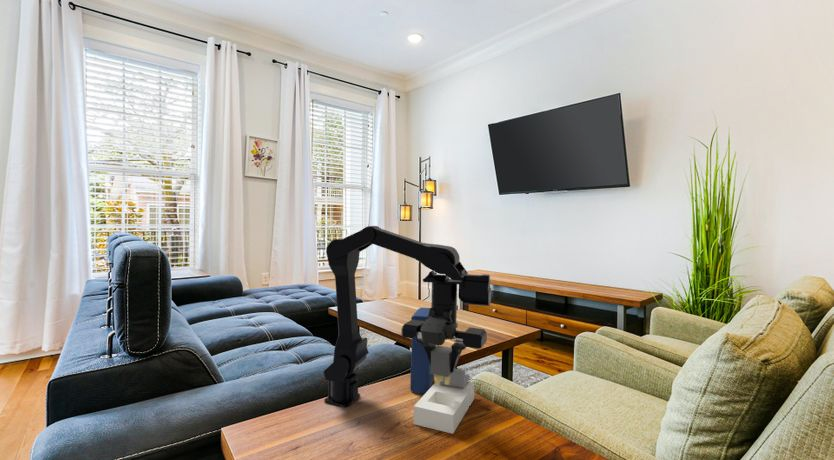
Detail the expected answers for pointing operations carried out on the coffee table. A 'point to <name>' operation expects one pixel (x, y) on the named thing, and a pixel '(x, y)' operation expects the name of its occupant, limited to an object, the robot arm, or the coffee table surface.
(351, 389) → the robot arm
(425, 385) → the electronic device
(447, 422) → the power strip
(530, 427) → the coffee table surface
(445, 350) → the plug
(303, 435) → the coffee table surface
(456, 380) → the grey block
